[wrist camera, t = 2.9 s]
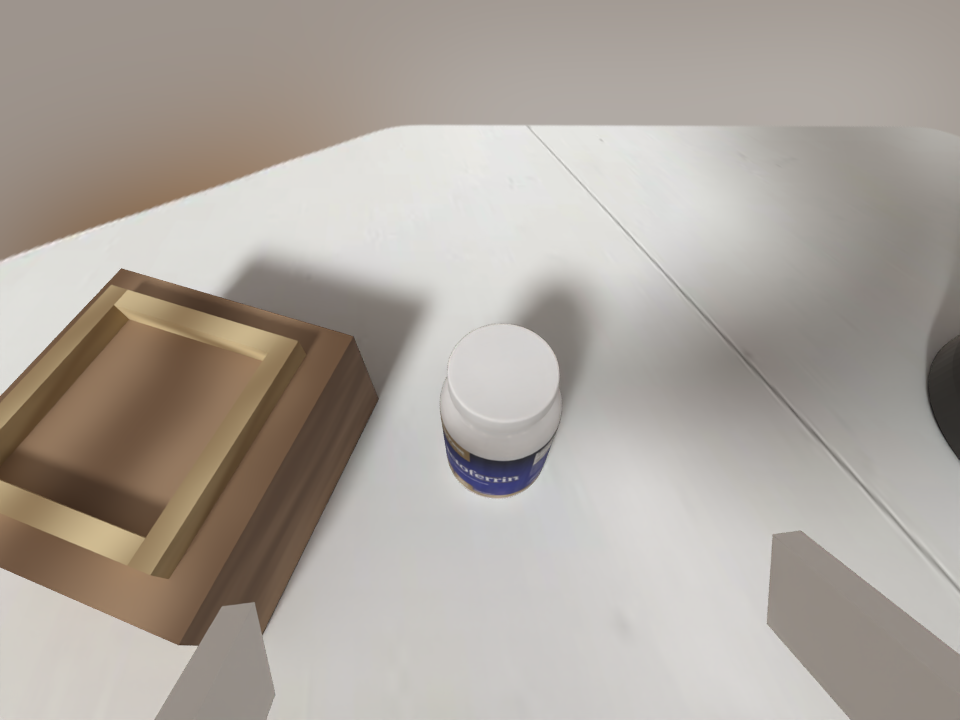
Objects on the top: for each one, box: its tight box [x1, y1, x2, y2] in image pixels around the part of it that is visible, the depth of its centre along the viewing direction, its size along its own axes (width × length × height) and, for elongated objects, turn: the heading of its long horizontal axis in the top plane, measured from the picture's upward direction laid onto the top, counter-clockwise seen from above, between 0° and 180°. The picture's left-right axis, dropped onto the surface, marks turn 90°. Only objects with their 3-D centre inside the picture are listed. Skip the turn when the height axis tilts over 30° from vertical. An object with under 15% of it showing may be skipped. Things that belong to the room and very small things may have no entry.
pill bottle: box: [440, 324, 562, 499], centre depth 24 cm, size 6×6×10 cm
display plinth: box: [0, 268, 378, 646], centre depth 24 cm, size 14×14×8 cm
